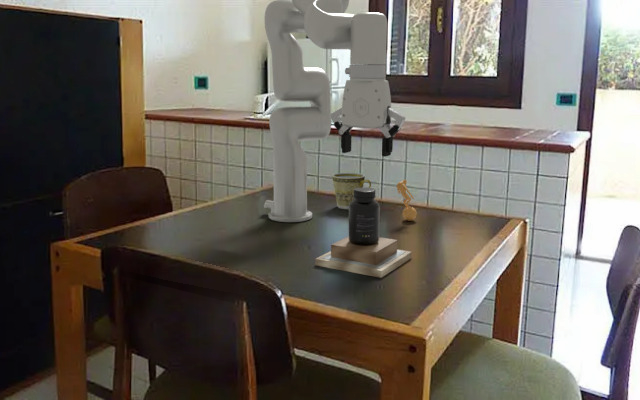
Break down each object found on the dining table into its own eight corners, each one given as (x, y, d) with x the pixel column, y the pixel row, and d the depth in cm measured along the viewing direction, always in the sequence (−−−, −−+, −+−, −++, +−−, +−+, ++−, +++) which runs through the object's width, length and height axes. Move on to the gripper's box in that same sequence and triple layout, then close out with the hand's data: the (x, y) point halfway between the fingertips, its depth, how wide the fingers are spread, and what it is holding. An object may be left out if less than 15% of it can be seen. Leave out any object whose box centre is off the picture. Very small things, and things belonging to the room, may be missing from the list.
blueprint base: (315, 265, 138) (315, 245, 137) (349, 247, 152) (349, 229, 151) (381, 277, 130) (381, 257, 129) (411, 258, 144) (412, 239, 143)
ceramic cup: (325, 207, 194) (325, 175, 192) (343, 202, 202) (343, 171, 200) (361, 213, 187) (362, 180, 185) (378, 207, 195) (379, 175, 193)
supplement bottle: (346, 238, 143) (347, 186, 141) (376, 237, 144) (377, 186, 141) (350, 246, 137) (351, 192, 134) (381, 245, 137) (382, 192, 135)
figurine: (422, 223, 175) (424, 181, 173) (403, 225, 173) (405, 182, 171) (408, 216, 183) (409, 176, 180) (389, 218, 181) (391, 177, 178)
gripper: (323, 73, 134) (323, 153, 138) (398, 74, 125) (395, 159, 129) (340, 73, 140) (339, 149, 144) (412, 74, 132) (409, 155, 135)
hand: (366, 154), depth 136 cm, fingers open, 9 cm apart
